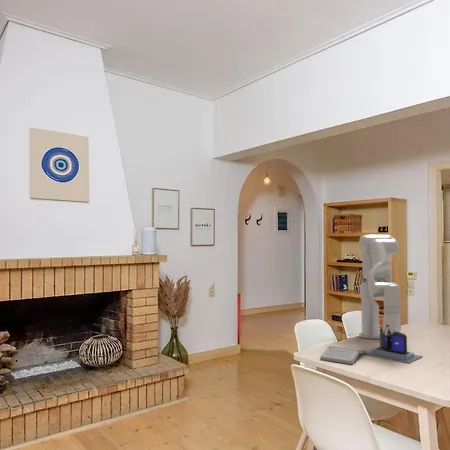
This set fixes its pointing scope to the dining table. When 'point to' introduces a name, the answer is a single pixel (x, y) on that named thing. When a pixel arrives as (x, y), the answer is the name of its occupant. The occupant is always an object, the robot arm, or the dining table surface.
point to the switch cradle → (393, 355)
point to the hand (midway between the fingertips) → (392, 347)
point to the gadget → (341, 354)
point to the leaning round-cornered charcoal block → (394, 342)
